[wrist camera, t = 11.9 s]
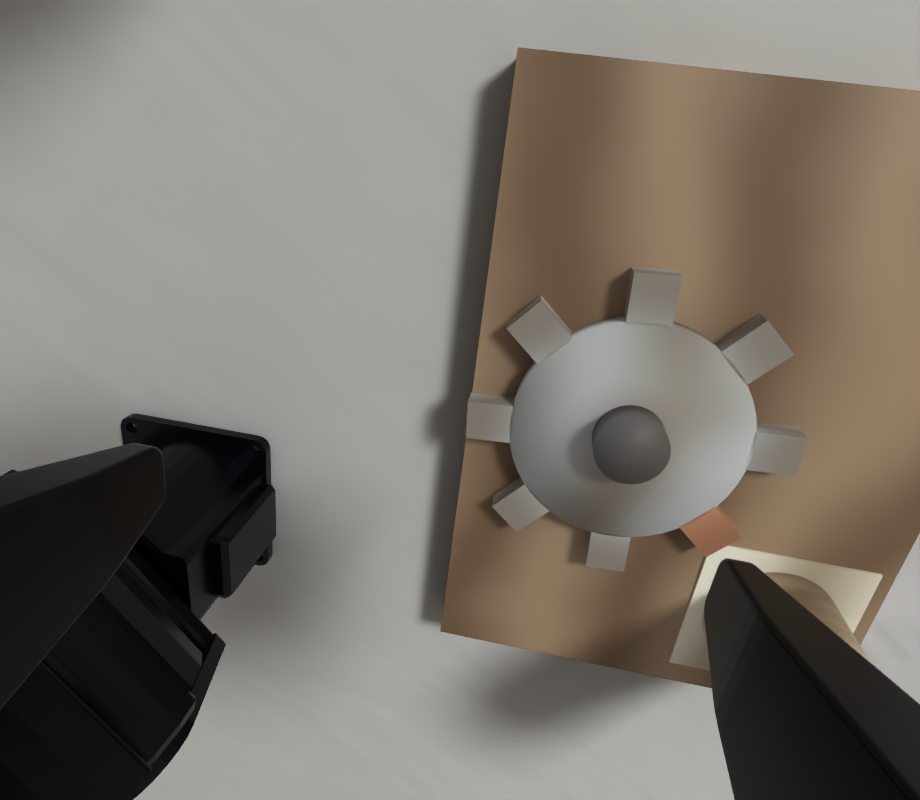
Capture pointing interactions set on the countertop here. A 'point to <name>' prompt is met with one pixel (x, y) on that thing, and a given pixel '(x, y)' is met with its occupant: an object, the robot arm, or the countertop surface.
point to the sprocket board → (689, 356)
